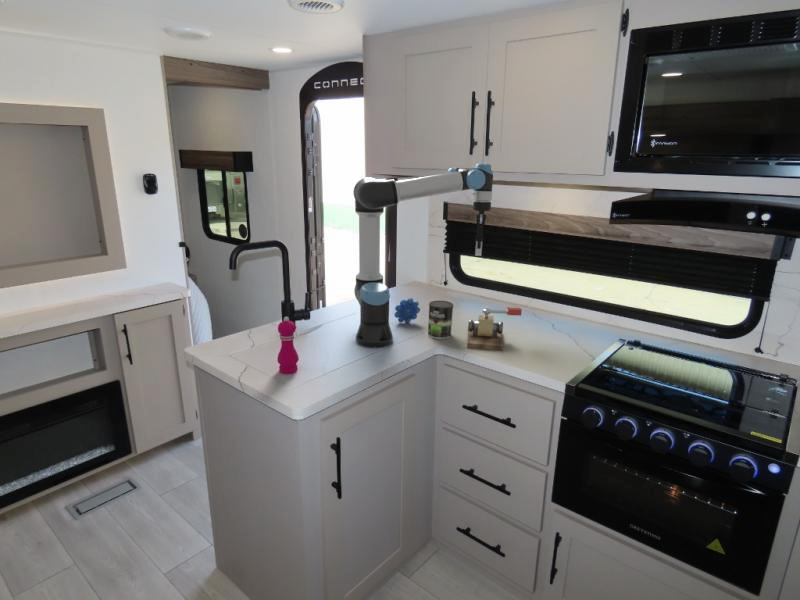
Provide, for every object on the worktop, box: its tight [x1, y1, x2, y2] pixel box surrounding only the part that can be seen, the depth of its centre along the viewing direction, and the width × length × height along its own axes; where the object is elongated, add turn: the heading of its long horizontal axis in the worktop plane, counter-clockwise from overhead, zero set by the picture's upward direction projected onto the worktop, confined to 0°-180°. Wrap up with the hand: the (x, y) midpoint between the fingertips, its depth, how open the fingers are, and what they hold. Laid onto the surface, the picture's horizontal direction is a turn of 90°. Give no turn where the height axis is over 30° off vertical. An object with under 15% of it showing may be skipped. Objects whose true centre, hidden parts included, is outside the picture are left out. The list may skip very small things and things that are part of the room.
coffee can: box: [427, 300, 454, 340], centre depth 207 cm, size 10×10×14 cm
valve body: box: [467, 313, 504, 338], centre depth 203 cm, size 14×6×10 cm, turn 81°
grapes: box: [394, 297, 421, 324], centre depth 222 cm, size 12×7×12 cm, turn 90°
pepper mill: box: [276, 316, 300, 375], centre depth 169 cm, size 7×7×20 cm
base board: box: [466, 330, 504, 351], centre depth 204 cm, size 14×20×2 cm
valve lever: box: [482, 306, 523, 316], centre depth 201 cm, size 16×3×2 cm, turn 88°
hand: (478, 255), depth 214 cm, fingers closed
